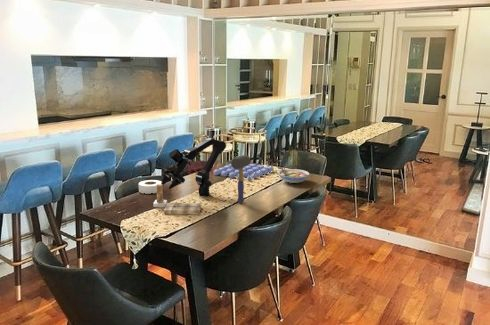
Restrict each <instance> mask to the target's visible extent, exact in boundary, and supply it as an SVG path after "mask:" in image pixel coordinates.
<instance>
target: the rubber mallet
mask: <svg viewBox="0 0 490 325" xmlns="http://www.w3.org/2000/svg"><path fill="white" fill-rule="evenodd" d="M230 164H231V166H232V167H233V168H234V169H239V179H238V181H237V202H238V204H243V203H244V201H245V199H244V188H245V185H244V177H243V167H246V166H248V165H249V164H251V158H250V156H249V155H248V154H247V155H246V154H243V155H239V156H238V155H237V156H235V157H234V158H232V159H231V162H230Z"/></svg>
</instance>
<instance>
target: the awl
mask: <svg viewBox="0 0 490 325" xmlns="http://www.w3.org/2000/svg"><path fill="white" fill-rule="evenodd" d="M163 186H164V185H162V184H157V185H156V187H157V193H156V200H157V203H162V202H164V200H165V199H164V192H163V190H164V189H163V188H164V187H163Z"/></svg>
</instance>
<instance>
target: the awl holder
mask: <svg viewBox="0 0 490 325" xmlns="http://www.w3.org/2000/svg"><path fill="white" fill-rule="evenodd" d="M163 200H164V202H162V203H157V199H155V200H154V201H153V206H152V207H153V208H165V207H166V205H167V204H168V200H167V199H163Z"/></svg>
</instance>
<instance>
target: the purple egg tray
mask: <svg viewBox="0 0 490 325" xmlns="http://www.w3.org/2000/svg"><path fill="white" fill-rule="evenodd" d="M259 170H260V171H259ZM246 171H247V172H246ZM271 171H272V172H273V166H265V165H261V164H256V163H250V164H249V165H248V166H246V167H243V178H244V177H247V178H246V179H247V180H250V181H251V180H252V179H253V178H256V179H257V178H258V177H257V176H262V175H263V174H267V173H268V172H271ZM212 172H213V175H214V176H220V175H221V177H223V178H226V177H229V178H230V179H235V178H236V177H237V180H239V169H234V168H233V167H232V166H231V163H229V164H228V165H227V164H226V165H223V167H220V168H219V169H214V170H213V171H212ZM254 172H255V173H254ZM227 174H229V175H227ZM268 174H269V173H268ZM268 174H267V175H268ZM235 175H236V176H235ZM250 175H251V176H250ZM263 176H264V175H263ZM263 176H262V177H263Z"/></svg>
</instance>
